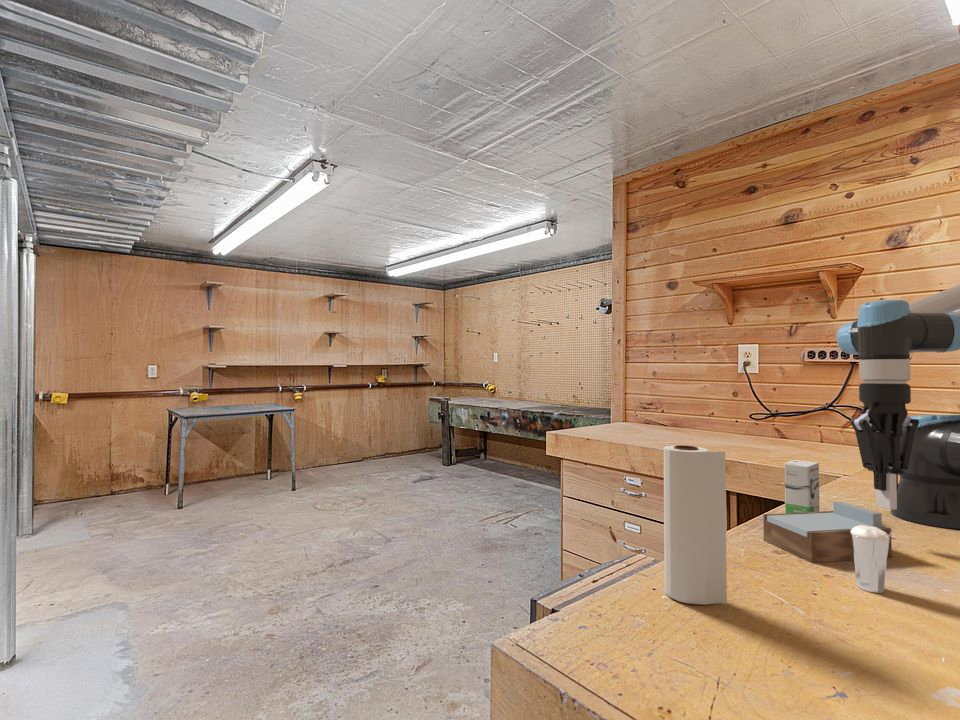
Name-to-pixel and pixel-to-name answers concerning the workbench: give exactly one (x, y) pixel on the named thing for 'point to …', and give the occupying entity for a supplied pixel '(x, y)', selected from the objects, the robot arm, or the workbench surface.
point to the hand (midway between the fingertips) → (886, 507)
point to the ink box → (801, 486)
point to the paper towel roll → (695, 525)
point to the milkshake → (870, 557)
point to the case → (814, 542)
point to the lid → (829, 519)
